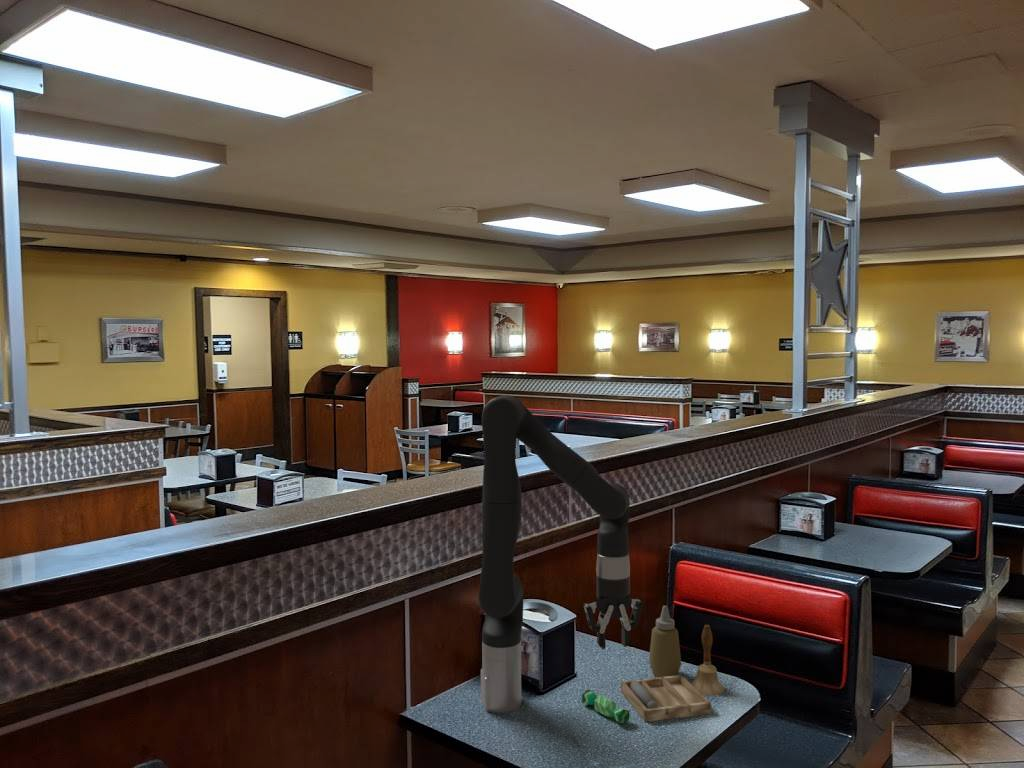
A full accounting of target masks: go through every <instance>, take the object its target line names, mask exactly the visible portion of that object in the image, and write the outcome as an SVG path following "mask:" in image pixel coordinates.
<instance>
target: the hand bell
mask: <svg viewBox="0 0 1024 768" xmlns="http://www.w3.org/2000/svg"><path fill="white" fill-rule="evenodd" d="M701 644H702V648H703V663H702V664H700V665H698V666H697V672H696V675H695V679H694V680H692V681H691V682H690V683H691V684H692V685H693V686H694V687H695V688H696V689H697V690H698V691H699V692H700V693H701V694H702V695H703V696H718V695H721V694H722V693H723V692H724V691H725V688H724V685H722V683H721V682H720V680H719V679H718V677H719V676H718V672H717V671H718V670H717V668H716V666H714V665H713V664H712V659H711V658H712V656H711V651H712V647H713V633H712V630H711V626H710V624H704V626H703V630H702V633H701Z"/></svg>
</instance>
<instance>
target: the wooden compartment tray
mask: <svg viewBox="0 0 1024 768" xmlns="http://www.w3.org/2000/svg"><path fill="white" fill-rule="evenodd" d="M633 681H638V682H639V683H640V684H641V685H642V686H643V688H644V689H645V690H646V691H647V692H648V693H649V695H650V696H651V697H652V698H653V699H654V700H655V701H656V703H657V705H658V707H657V708H651V709H648V708H647V707H646V706H645V705H644V704H643V702H642V701H641V700H640V699H639V698H638V696H637V695H636V694H635V693H634V692H633V690H632V689H631V683H632V682H633ZM620 693H621V694H622V695H623V697H624V698H625V699H626V700H627V701H628V702H629V704H630V705H631V706H632V708H633V709H634V710H635V711H636V713H637V714H638V715H639V717H641V719H642V720H643V722H644V723H648V722H647V721H649V722H655V721H656V722H657V721H664V719H665V720H671V719H672V718H673V719H679V718H678V717H680V718H685V717H687V718H688V717H692V716H693V717H694V716H700V715H706V714H711V712H712V711H711V710H712V709H711V706H712V704H711V702H710V701H709V700H708V699H707V697H705V695H702V694H701V693H700V692H699V691H698V690H697V689H696V688H695V687H694V686H693V685H692V684H691V682H690V681H689V680H688V679H687V678H686V677H685V676H684V675H682V674H677V675H676V676H666V677H657V678H656V677H651V678H650V677H649V678H641V679H632V680H624V681H623V680H622V681H620Z"/></svg>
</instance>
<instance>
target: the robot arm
mask: <svg viewBox="0 0 1024 768" xmlns="http://www.w3.org/2000/svg"><path fill="white" fill-rule="evenodd" d="M481 429H482V430H481V431H482V441H483V458H484V460H483V462H484V463H483V472H482V473H483V476H482V494H481V495H482V497H481V520H482V521H481V545H482V547H481V548H482V549H481V550H482V561H481V562H482V563H481V571H480V578H479V585H478V595H477V596H478V597H477V599H478V603H479V606H480V608H481V610H482V611H483V613H484V614H485V615H484V616H485V617H484V622H483V626H482V628H481V629H482V630H481V647H482V648H481V649H482V650H481V652H482V653H481V654H482V655H481V656H482V657H481V660H482V664H481V667H482V668H480V701H481V704H482V706H483V709H484V712H486V713H487V712H488V713H489V712H493V713H498V714H501V713H509V712H513V711H515V710H517V709H519V708H520V707H521V705H522V701H523V700H522V629H523V623H524V586H523V584H522V581H521V579H520V577H519V576H518V575H517V574H516V573H514V558H515V550H516V547H517V542H518V540H519V539H518V538H519V535H520V534H519V532H520V527H521V520H522V498H523V497H522V487H521V481H520V476H519V473H518V469H517V468H518V467H517V462H516V446H517V440H518V441H519V442H521V443H523V444H524V445H525V446H527V447H528V448H529V449H530V450H531V451H532V452H533V453H534V454H535V455H537V457H538V458H539V459H540V460H541V461H542V462H543V464H544V465H545V466H546V467H547V468H548V469H549V470H550V472H552V473H553V475H555V476H556V477H558V479H560V481H562V482H564V483H565V485H567V486H568V487H569V488H570V489H572V490H573V491H575V492H576V493H577V494H579V496H580V497H581V498H582V499H583V500H584V501H585V503H586V504H588V506H589V507H590V508H591V509H592V510H594V512H596V513H597V514H598V515H599V528H598V532H597V538H596V539H597V540H596V541H597V545H596V546H597V555H596V568H595V572H596V598H595V600H594V601H593V602H591V603H588V602H586V603H585V602H584V603H583V609H584V614H585V617H586V619H587V625H588V627H589V628H590V630H591V631H592V632H596V643H597V645H598V646H599V647H600V649H602V650H606V632H605V631H606V629H607V625H608V624H609V622H610V619H611V620H612V619H615V618H616V619H617V618H618V619H619V620H620V623H621V625H622V627H621V629H620V630H621V633H620V634H621V637H620V638H621V645H622V646H623V647H624V648H627V647H628V646H629V644H630V643H631V629H633V628H638V626H639V623H640V619H641V616H642V611H643V607H644V603H643V601H641V600H640V599H639V598H634V599H633V598H632V597H631V596H630V595H631V565H630V564H631V563H630V552H629V544H630V543H629V519H630V503H631V501H630V495H629V492H628V490H627V489H626V488H625V487H624V486H623V485H621V484H619V483H613V482H612V483H609V482H608V481H606V479H604V478H603V477H602V476H601V475H600V474H599V472H598V470H597V469H596V468H595V467H594V465H592V464H591V463H590V462H589V461H588V460H586V459H585V458H583V456H581V455H580V454H578V453H577V452H576V451H575V450H573V449H572V448H571V447H569V446H568V445H567V444H566V443H564V442H563V441H562V440H561V439H559V438H558V437H557V436H556V435H555V434H553V433H552V432H551V431H550V430H549V429H548V428H547V427H545V426H544V425H543V423H541V422H540V421H539V419H537V418H536V417H535V415H534V414H533V413H532V412H531V410H529V408H527V406H525V404H524V403H523V402H522V400H520V399H519V398H517V397H515V396H514V395H513V396H512V395H501V396H497V397H494V398H492V399H490V400H489V401H488V402H487V403H485V405H484V407H483V409H482V413H481ZM630 607H631V608H632V610H631V614H630V617H628V614H627V611H628V610H629V608H630ZM596 608H597V609H598V610H599V615H598V620H597V623H596V619H595V615H594V614H595V613H596Z"/></svg>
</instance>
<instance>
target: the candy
mask: <svg viewBox="0 0 1024 768" xmlns="http://www.w3.org/2000/svg"><path fill="white" fill-rule="evenodd" d="M581 703H582V704H584V705H589V706H594V710H595V711H597V712H598V713H600V714H601V715H604V717H607V718H609V719H610V718H611V719H612V718H614V719H615V720H616V722H617V723H618V724H619V725H626V723H627V722H628V721H629V720H630V717H631V716H630V715H631V714H630V712H631V711H630V710H628V709H626V708H621V707H617V703H616V702H614V701H612V700H610V699H608V698H607V697H605V696H603V695H602V694H599V695H597V694H596V693H595V692H594V691H593V690H591V689H588V688H587V689H586V690H585V691H584V692H583V693H582V694H581Z"/></svg>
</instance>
